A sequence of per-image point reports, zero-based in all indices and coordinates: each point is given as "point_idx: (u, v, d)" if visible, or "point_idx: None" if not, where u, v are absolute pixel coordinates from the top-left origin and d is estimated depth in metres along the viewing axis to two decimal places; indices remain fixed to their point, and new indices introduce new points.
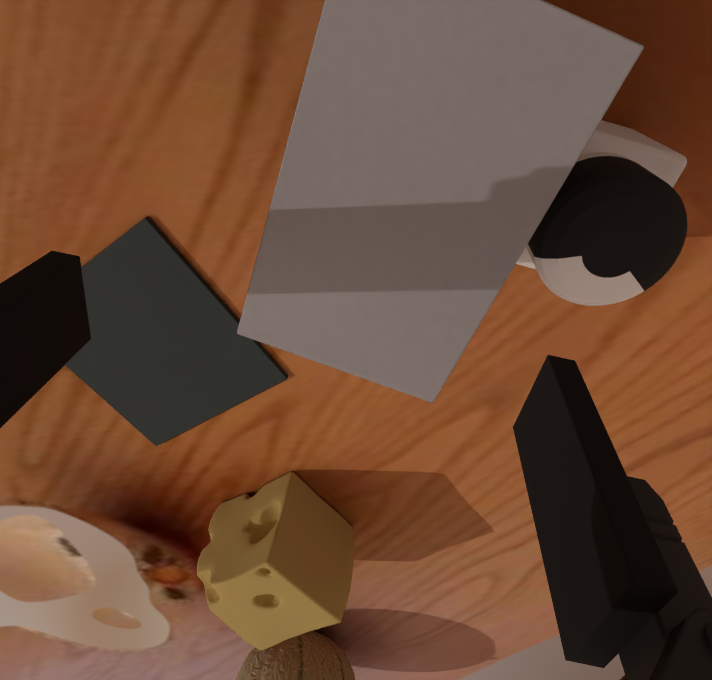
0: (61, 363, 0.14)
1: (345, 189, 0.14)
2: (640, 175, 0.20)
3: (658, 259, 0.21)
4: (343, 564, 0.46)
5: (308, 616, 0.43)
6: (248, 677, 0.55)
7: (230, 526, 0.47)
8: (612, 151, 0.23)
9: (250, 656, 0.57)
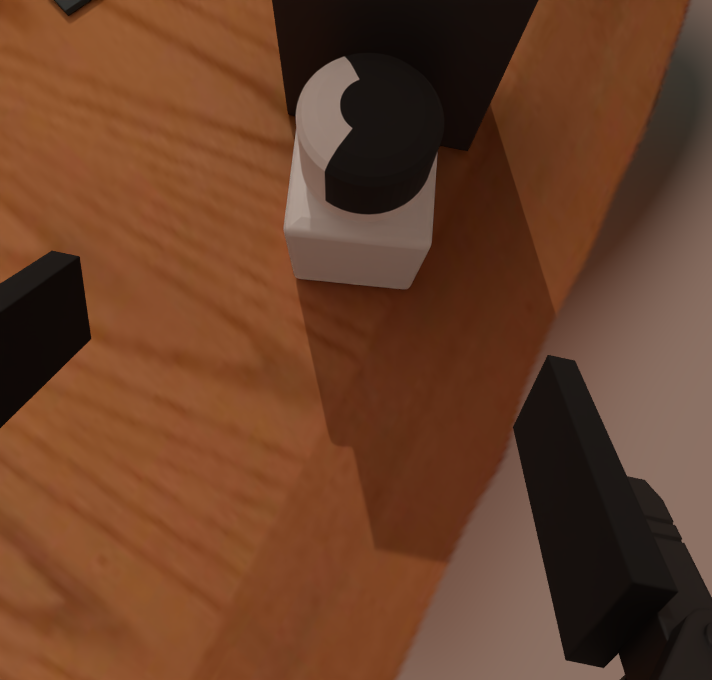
0: (61, 363, 0.14)
1: None
2: (442, 117, 0.20)
3: (369, 152, 0.19)
4: None
5: None
6: None
7: None
8: None
9: None
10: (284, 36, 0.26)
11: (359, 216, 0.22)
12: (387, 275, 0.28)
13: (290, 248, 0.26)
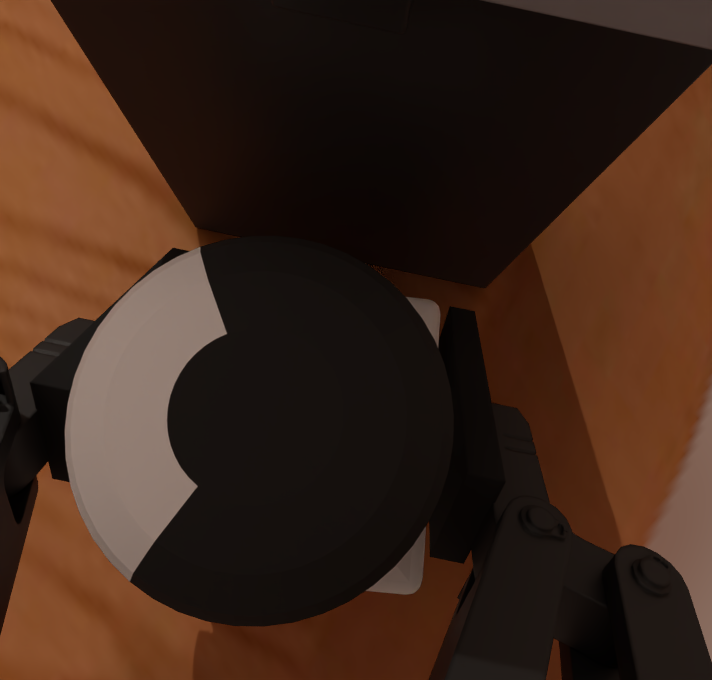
0: None
1: None
2: (448, 416, 0.08)
3: (244, 557, 0.07)
4: None
5: None
6: None
7: None
8: None
9: None
10: (146, 132, 0.14)
11: None
12: None
13: None
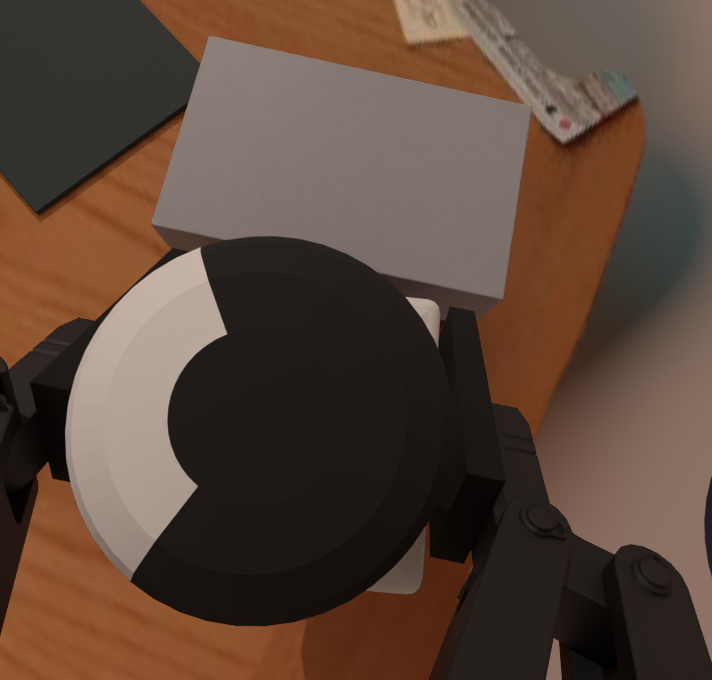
0: None
1: (366, 118, 0.18)
2: (447, 416, 0.08)
3: (245, 557, 0.07)
4: None
5: None
6: None
7: None
8: None
9: None
10: None
11: None
12: None
13: None
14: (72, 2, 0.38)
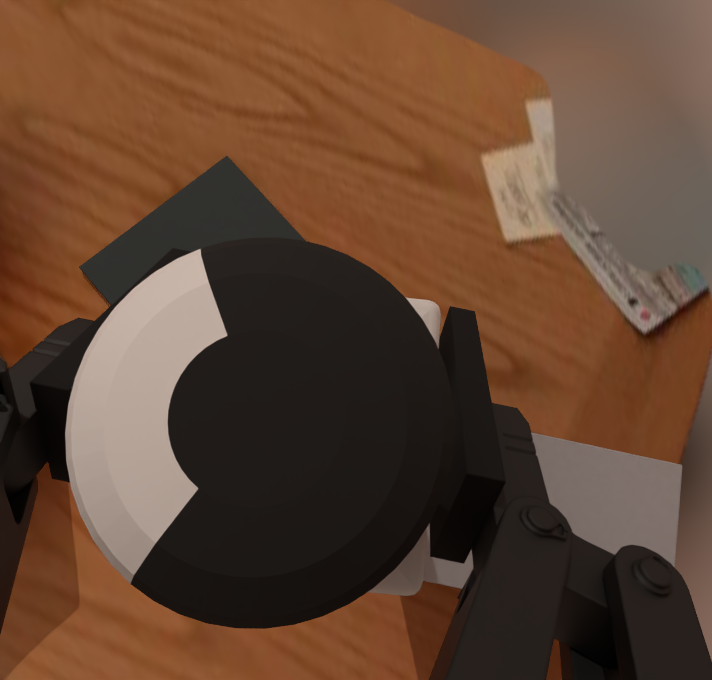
0: None
1: (559, 480, 0.23)
2: (449, 418, 0.08)
3: (245, 559, 0.07)
4: None
5: None
6: None
7: None
8: None
9: None
10: None
11: None
12: None
13: None
14: (219, 212, 0.44)
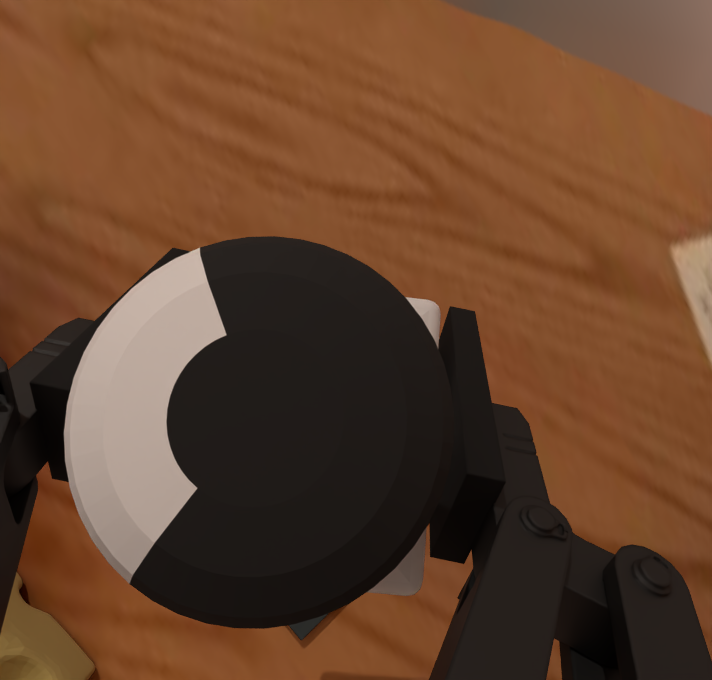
0: None
1: None
2: (449, 417, 0.08)
3: (244, 559, 0.07)
4: None
5: None
6: None
7: None
8: None
9: None
10: None
11: None
12: None
13: None
14: None
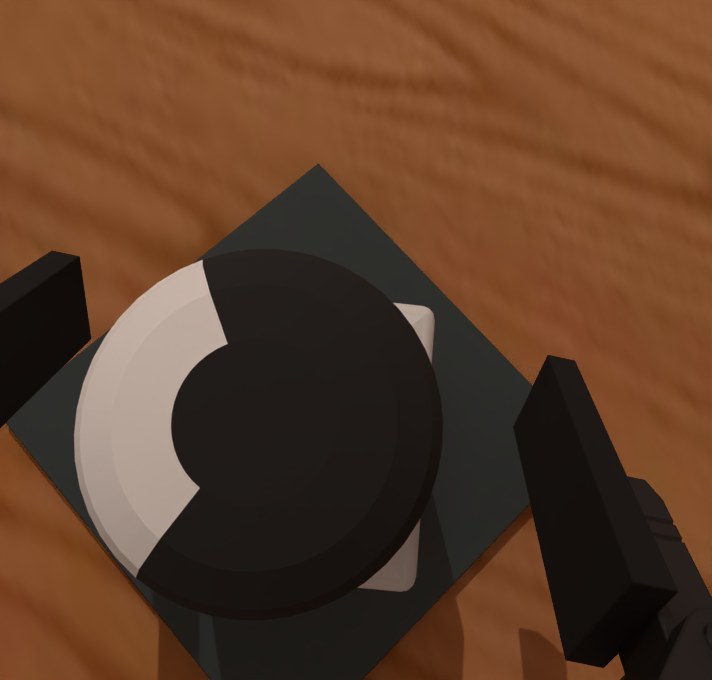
0: (61, 363, 0.14)
1: None
2: (437, 421, 0.08)
3: (244, 555, 0.07)
4: None
5: None
6: None
7: None
8: None
9: None
10: None
11: None
12: None
13: None
14: None
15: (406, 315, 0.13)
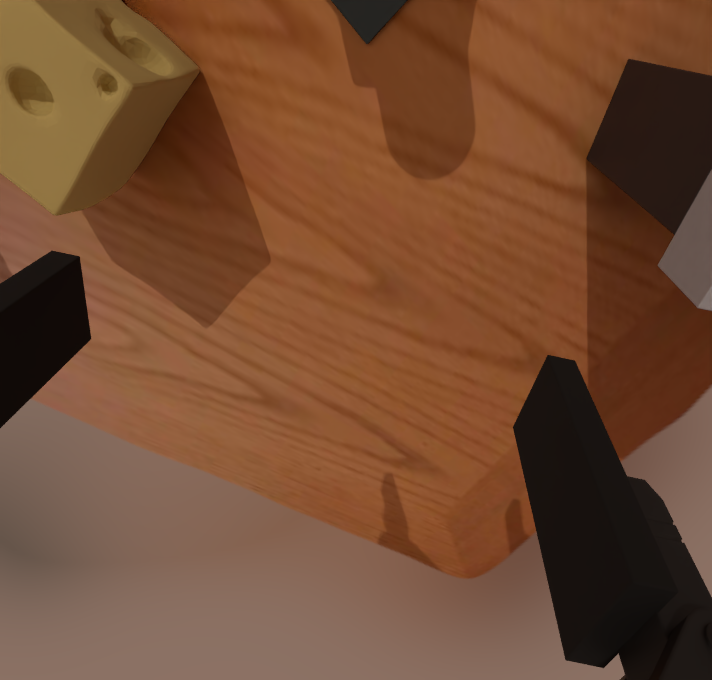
0: (61, 363, 0.14)
1: None
2: None
3: None
4: (113, 185, 0.33)
5: (39, 167, 0.28)
6: None
7: None
8: None
9: None
10: None
11: None
12: None
13: None
14: None
15: None
